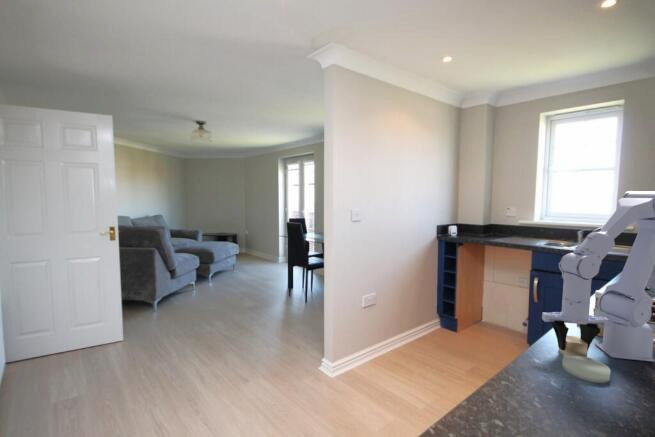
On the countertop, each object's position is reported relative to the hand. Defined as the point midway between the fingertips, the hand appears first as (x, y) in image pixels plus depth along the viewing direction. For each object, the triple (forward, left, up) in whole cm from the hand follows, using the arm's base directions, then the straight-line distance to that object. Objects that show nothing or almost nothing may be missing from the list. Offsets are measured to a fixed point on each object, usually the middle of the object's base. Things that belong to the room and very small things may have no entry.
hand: (572, 349), depth 87 cm
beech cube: (0, 0, -2) cm, 2 cm away
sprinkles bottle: (-16, -17, -2) cm, 23 cm away
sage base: (+1, +8, -2) cm, 9 cm away
